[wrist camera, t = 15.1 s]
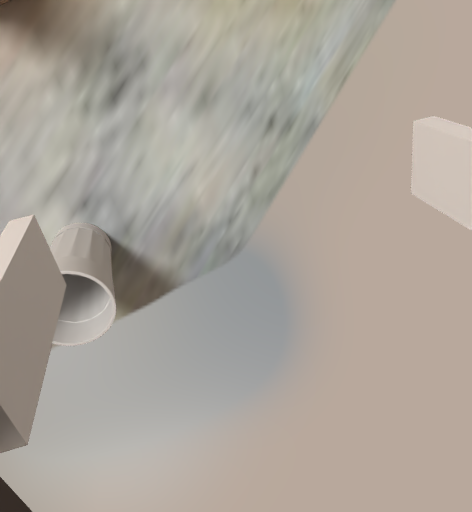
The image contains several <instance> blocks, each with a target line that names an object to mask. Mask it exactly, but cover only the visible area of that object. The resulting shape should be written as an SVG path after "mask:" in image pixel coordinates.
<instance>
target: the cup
mask: <svg viewBox="0 0 472 512" xmlns="http://www.w3.org/2000/svg"><path fill="white" fill-rule="evenodd" d="M50 250H51V252H52V255H53V257H54V259H55V261H56V263H57V265H58V268H59V270H60V272H61V274H62V276H63V278H64V280H65V283H66V289H65V293H64V297H63V301H62V305H61V309H60V314H59V318H58V322H57V326H56V330H55V334H54V338H53V342H52V343H53V344H57V345H63V346H74V345H81V344H86V343H89V342H91V341H94V340H96V339H97V338H99V337H101V336H102V335H103V334H104V333H106V332H107V331H108V329H109V328H110V327H111V325H112V324H113V322H114V319H115V316H116V300H115V291H114V284H113V277H112V264H111V252H112V246H111V242H110V239H109V238H108V236H107V235H106V233H105V232H104V231H103V230H101V229H100V228H98V227H97V226H94V225H92V224H88V223H72V224H69V225H66V226H64V227H63V228H61V229H60V230H59V231H58V232H57V233H56V235H55V236H54V238H53V241H52V244H51V246H50Z"/></svg>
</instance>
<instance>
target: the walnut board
mask: <svg viewBox="0 0 472 512" xmlns="http://www.w3.org/2000/svg"><path fill="white" fill-rule="evenodd" d="M8 1H11V0H0V5H1V4H4V3H6V2H8Z"/></svg>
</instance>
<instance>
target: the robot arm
mask: <svg viewBox="0 0 472 512" xmlns="http://www.w3.org/2000/svg"><path fill="white" fill-rule="evenodd" d="M412 152H413V153H412V181H411V194H413V195H414V196H416V197H417V198H419V199H421V200H422V201H424V202H426V203H427V204H429V205H431V206H432V207H434V208H436V209H437V210H439V211H440V212H442V213H444V214H445V215H447V216H449V217H450V218H452V219H454V220H455V221H457V222H458V223H460V224H462V225H463V226H465V227H467V228H468V229H470V230H472V128H471V127H468V126H465V125H461V124H458V123H455V122H452V121H449V120H445V119H442V118H439V117H436V116H431V117H427V118H423V119H419V120H415V121H413V150H412ZM65 289H66V283H65V280H64V278H63V276H62V274H61V272H60V270H59V268H58V265H57V263H56V261H55V259H54V257H53V255H52V252H51V250H50V248H49V246H48V244H47V242H46V240H45V237H44V235H43V233H42V231H41V229H40V227H39V224H38V222H37V220H36V218H35V216H34V215H30V216H26V217H22V218H18V219H14V220H10V221H9V222H8V224H7V226H6V227H5V229H4V231H3V232H2V234H1V236H0V453H2V452H6V451H9V450H12V449H15V448H19V447H22V446H26V445H28V441H29V436H30V432H31V428H32V424H33V420H34V416H35V412H36V408H37V404H38V400H39V395H40V391H41V387H42V383H43V379H44V375H45V371H46V367H47V363H48V358H49V355H50V350H51V346H52V342H53V338H54V334H55V330H56V326H57V322H58V318H59V314H60V309H61V305H62V301H63V297H64V293H65ZM0 512H32V511H31V510H30V509H29V508H28V507H27V506H26V504H25V503H24V502H23V501H22V500H21V499H20V498H19V497H18V496H17V495H16V494H15V492H14V491H13V490H12V489H11V488H10V487H9V486H8V485H7V484H6V483H5V482H4V480H2V478H1V477H0Z"/></svg>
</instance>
